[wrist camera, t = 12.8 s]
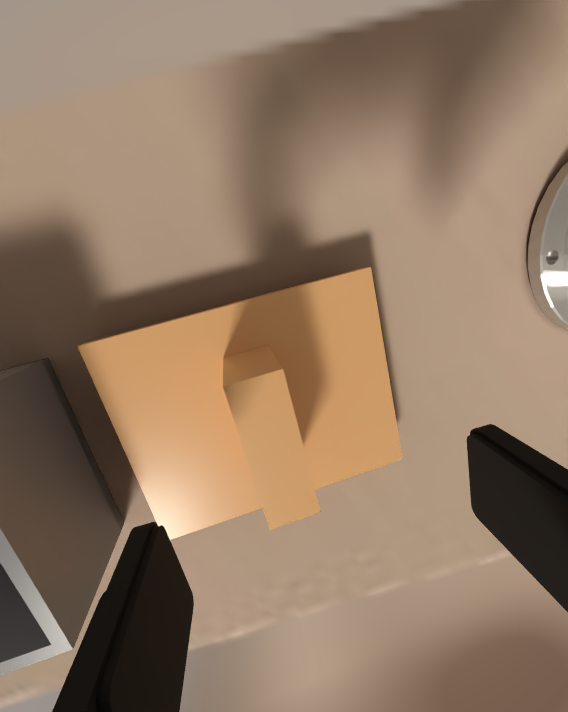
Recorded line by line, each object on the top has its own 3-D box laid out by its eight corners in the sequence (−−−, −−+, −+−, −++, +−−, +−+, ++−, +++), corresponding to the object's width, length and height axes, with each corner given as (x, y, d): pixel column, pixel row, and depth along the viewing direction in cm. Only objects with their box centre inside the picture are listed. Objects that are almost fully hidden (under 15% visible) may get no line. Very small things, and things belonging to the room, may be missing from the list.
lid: (355, 267, 19) (422, 263, 12) (387, 443, 22) (451, 509, 16) (94, 338, 17) (18, 374, 11) (170, 516, 20) (147, 622, 14)
